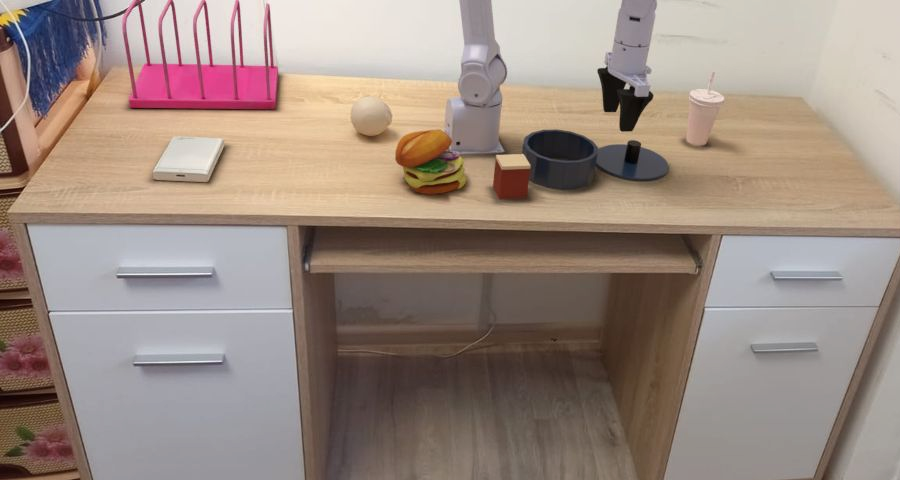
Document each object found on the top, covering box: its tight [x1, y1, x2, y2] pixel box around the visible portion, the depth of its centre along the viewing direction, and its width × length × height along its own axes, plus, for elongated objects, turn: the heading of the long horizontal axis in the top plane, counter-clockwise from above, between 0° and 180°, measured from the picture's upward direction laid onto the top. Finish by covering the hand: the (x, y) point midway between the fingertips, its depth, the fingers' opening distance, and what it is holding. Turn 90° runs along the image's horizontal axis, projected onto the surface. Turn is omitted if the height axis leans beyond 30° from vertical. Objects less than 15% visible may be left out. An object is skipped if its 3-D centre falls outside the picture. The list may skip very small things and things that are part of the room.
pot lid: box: [595, 139, 669, 182], centre depth 145 cm, size 13×13×4 cm
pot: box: [521, 128, 599, 191], centre depth 139 cm, size 12×12×6 cm
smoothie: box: [685, 70, 725, 146], centre depth 153 cm, size 6×6×14 cm
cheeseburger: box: [394, 129, 467, 195], centre depth 132 cm, size 10×11×10 cm
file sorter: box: [121, 0, 279, 110], centre depth 152 cm, size 17×25×16 cm
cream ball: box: [350, 95, 393, 137], centre depth 146 cm, size 7×7×7 cm
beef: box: [492, 153, 531, 200], centre depth 132 cm, size 5×4×6 cm
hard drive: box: [152, 135, 225, 183], centre depth 132 cm, size 2×8×12 cm
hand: (617, 120), depth 138 cm, fingers open, 7 cm apart
